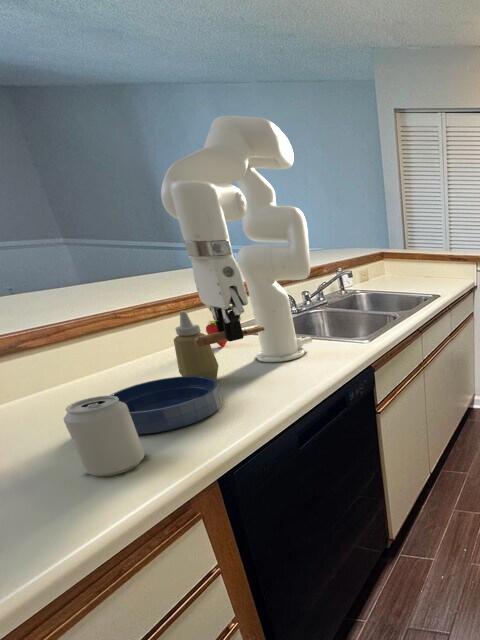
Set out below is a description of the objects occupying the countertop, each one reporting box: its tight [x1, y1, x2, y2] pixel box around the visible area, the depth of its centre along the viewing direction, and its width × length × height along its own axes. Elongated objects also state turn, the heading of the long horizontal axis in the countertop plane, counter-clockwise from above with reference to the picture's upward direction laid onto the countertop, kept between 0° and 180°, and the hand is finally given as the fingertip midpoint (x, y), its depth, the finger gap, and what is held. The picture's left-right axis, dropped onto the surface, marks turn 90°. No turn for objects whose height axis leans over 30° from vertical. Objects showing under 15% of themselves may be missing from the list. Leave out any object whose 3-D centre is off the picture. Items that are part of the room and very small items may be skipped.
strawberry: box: [205, 320, 228, 347], centre depth 131 cm, size 6×8×10 cm
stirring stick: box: [195, 324, 264, 346], centre depth 90 cm, size 14×3×2 cm, turn 151°
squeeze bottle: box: [173, 310, 220, 382], centre depth 102 cm, size 8×8×18 cm
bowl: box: [108, 375, 223, 435], centre depth 88 cm, size 19×19×5 cm
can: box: [62, 395, 146, 477], centre depth 69 cm, size 8×8×12 cm
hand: (231, 338), depth 91 cm, fingers closed on stirring stick, 2 cm apart
